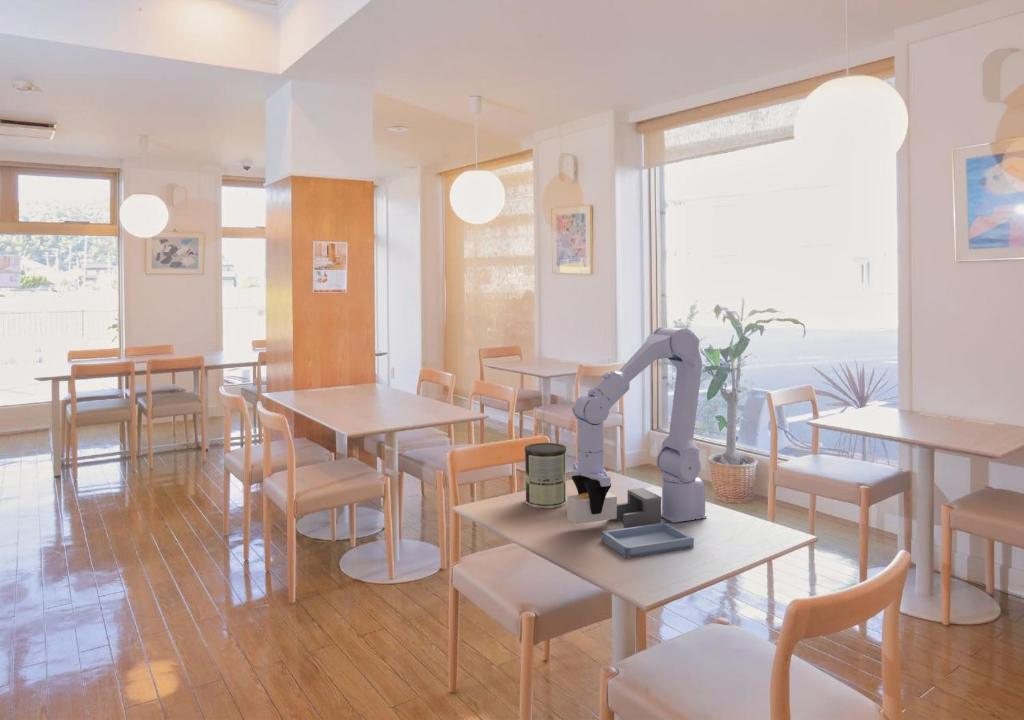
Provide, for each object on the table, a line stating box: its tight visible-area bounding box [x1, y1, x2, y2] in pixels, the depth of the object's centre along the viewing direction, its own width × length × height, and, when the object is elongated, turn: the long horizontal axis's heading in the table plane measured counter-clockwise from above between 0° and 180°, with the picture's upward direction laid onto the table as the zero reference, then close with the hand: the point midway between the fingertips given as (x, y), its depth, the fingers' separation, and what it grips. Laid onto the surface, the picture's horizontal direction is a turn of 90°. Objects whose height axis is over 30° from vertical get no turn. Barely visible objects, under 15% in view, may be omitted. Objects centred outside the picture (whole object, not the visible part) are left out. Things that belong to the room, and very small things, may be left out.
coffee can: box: [524, 442, 567, 509], centre depth 179 cm, size 10×10×14 cm
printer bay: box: [608, 487, 662, 529], centre depth 163 cm, size 9×8×6 cm
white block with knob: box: [566, 491, 618, 525], centre depth 160 cm, size 10×4×6 cm, turn 110°
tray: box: [601, 522, 695, 559], centre depth 150 cm, size 16×11×2 cm
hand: (591, 510), depth 160 cm, fingers closed on white block with knob, 4 cm apart
